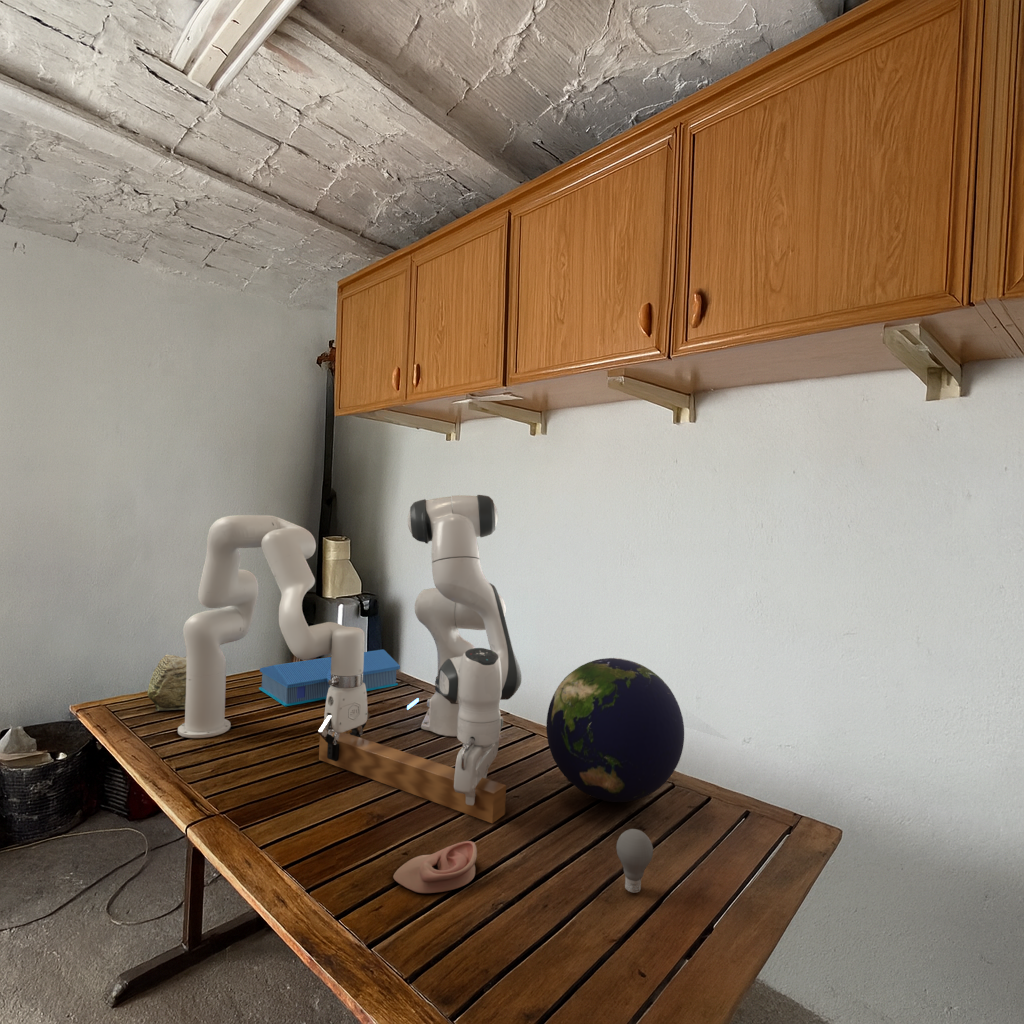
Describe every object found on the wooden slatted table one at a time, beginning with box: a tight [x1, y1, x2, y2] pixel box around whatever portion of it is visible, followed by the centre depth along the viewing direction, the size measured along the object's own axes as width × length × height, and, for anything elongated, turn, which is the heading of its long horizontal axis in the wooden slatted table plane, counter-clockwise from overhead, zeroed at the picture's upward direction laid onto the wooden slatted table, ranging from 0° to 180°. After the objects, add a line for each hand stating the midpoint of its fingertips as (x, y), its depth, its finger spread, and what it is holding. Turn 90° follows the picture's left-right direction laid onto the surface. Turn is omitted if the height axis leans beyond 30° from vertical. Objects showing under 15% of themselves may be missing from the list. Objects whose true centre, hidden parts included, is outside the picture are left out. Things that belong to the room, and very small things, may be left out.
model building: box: [258, 649, 401, 707], centre depth 208 cm, size 39×24×10 cm, turn 132°
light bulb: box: [615, 828, 654, 894], centre depth 106 cm, size 6×6×10 cm
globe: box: [545, 657, 685, 803], centre depth 140 cm, size 30×30×30 cm
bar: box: [318, 732, 507, 824], centre depth 141 cm, size 50×5×6 cm, turn 58°
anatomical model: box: [392, 840, 478, 894], centre depth 108 cm, size 13×4×12 cm
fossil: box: [147, 654, 187, 712], centre depth 185 cm, size 9×18×15 cm, turn 132°
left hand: (343, 754), depth 151 cm, fingers open, 6 cm apart
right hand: (475, 795), depth 131 cm, fingers closed on bar, 5 cm apart
